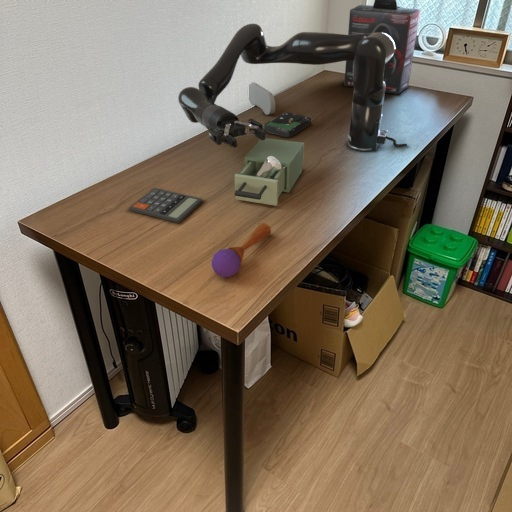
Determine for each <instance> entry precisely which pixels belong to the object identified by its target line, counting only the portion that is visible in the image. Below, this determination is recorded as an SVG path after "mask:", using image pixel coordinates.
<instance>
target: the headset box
mask: <svg viewBox="0 0 512 512" xmlns="http://www.w3.org/2000/svg"><path fill="white" fill-rule="evenodd" d="M420 15H421V9H420V8H407V7H406V8H405V7H398V3H397V0H374V2H373V5H369V4H359V5H357V6H355V7H354V8H353V7H352V8H351V9H350V10H349V16H348V17H349V18H348V29H347V30H348V32H347V35H357V34H368V33H376V32H381V33H385V34H387V35H388V36H390V37H391V38H392V40H393V41H394V44H395V51H394V54H393V56H392V58H391V59H390V60H389V61H388V62H387V63H386V64H385V67H384V76H383V81H384V82H385V84H386V88H385V93H388V94H395V95H399V94H401V93H402V92H403V91H405V90H406V89H407V88H409V85H410V80H411V73H412V65H413V61H414V60H413V58H414V53H415V47H416V40H417V35H418V27H419V20H420ZM353 65H354V61H345V69H344V80H343V81H344V82H343V86H344V87H349V88H350V87H351V88H354V84H353Z"/></svg>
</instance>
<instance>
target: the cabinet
mask: <svg viewBox="0 0 512 512" xmlns="http://www.w3.org/2000/svg"><path fill="white" fill-rule="evenodd" d="M304 145H305V143H304V142H299V141H291V140H283V139H277V138H267V137H265V140H261V139H259V140H258V141H257V143H255V145H254V146H253V147H252V149H250V150H249V152H248V153H247V154H246V155H245V157H244V168H245V167H246V165H247V164H248V163H249V162H250V161H256V162H263V163H264V162H265V160H266V159H267V157H269V156H273V157H275V158H276V159H277V160H279V162H280V164H281V165H284V166H287V165H288V166H287V182H286V186H285V188H284V189H283V191H282V193H283V192H284V193H290V192H291V190H292V189H293V187H294V185H295V184H296V182H297V180H298V179H299V177H300V175H301V174H302V172H303V167H304V149H305V148H304V147H305V146H304Z"/></svg>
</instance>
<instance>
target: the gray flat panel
mask: <svg viewBox="0 0 512 512" xmlns="http://www.w3.org/2000/svg"><path fill="white" fill-rule="evenodd" d="M248 86H249V98H248V101H249V103H250V104H251V106H257V107H258V108H259V109H261V110H262V112H263V113H264V114H265V115H266V116H269V115H273V114H274V113H275V111H276V100H275V97H274V94H273V93H272V92H271V91H269V90H268V89H266V88H265V87H263V86H262V85H260V84H258V83H257V82H251V83H249V84H248Z"/></svg>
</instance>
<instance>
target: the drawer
mask: <svg viewBox="0 0 512 512" xmlns="http://www.w3.org/2000/svg"><path fill="white" fill-rule="evenodd" d="M262 165H263V162H256V161H250V162H249V163H248V164H247V165H246V167H245V166H244V167H243V169H242V170H241V171H240V173H235V174H234V178H233V179H234V199H235V200H239V201H245V202H252V203H258V204H265V205H268V206H269V205H270V206H276V207H277V206H278V204H279V197H280V196H281V195H282V193H283V192H282V191H283V189H284V188H285V186H286V182H287V166H286V167H285V166H284V165H281V168H282V169H280V170H279V171H278V172H277V173H276V174H275V175H274V176H273V177H272V178H271V179H268V178H261V177H254V176H255V174H256V173H257V172H258V170H259V169H260V167H261V166H262ZM283 167H284V168H283Z"/></svg>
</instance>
